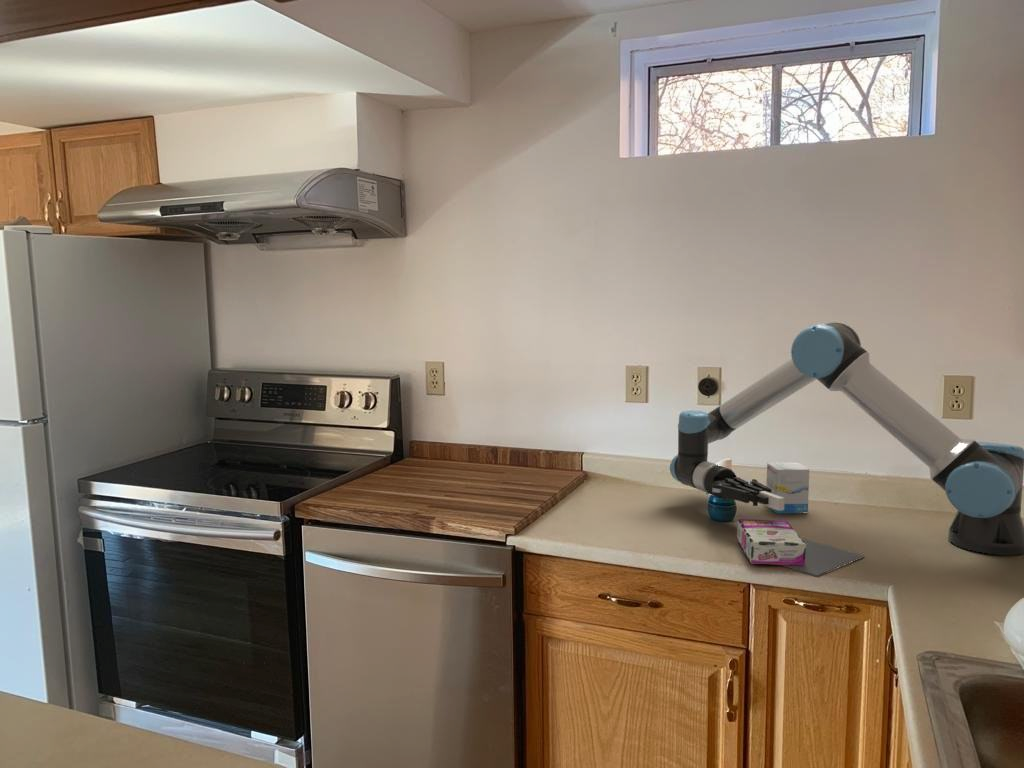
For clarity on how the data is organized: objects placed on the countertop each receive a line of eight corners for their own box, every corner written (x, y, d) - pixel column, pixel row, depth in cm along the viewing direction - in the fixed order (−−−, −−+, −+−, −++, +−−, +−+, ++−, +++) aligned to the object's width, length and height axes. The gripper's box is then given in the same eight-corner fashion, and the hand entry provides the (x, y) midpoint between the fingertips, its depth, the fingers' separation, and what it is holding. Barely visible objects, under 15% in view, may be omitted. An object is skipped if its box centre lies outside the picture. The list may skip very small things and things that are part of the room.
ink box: (808, 513, 197) (810, 469, 195) (775, 514, 197) (776, 469, 196) (797, 504, 205) (798, 461, 204) (764, 504, 206) (766, 461, 204)
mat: (864, 557, 165) (864, 555, 165) (817, 576, 154) (817, 575, 154) (789, 536, 179) (789, 534, 179) (741, 552, 168) (741, 551, 168)
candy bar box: (736, 539, 176) (749, 564, 160) (737, 518, 176) (750, 541, 159) (787, 541, 175) (805, 566, 159) (788, 520, 174) (806, 543, 158)
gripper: (736, 492, 194) (804, 517, 173) (693, 497, 190) (757, 524, 168) (737, 462, 194) (805, 484, 172) (693, 467, 189) (758, 490, 167)
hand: (781, 504), depth 170 cm, fingers closed
